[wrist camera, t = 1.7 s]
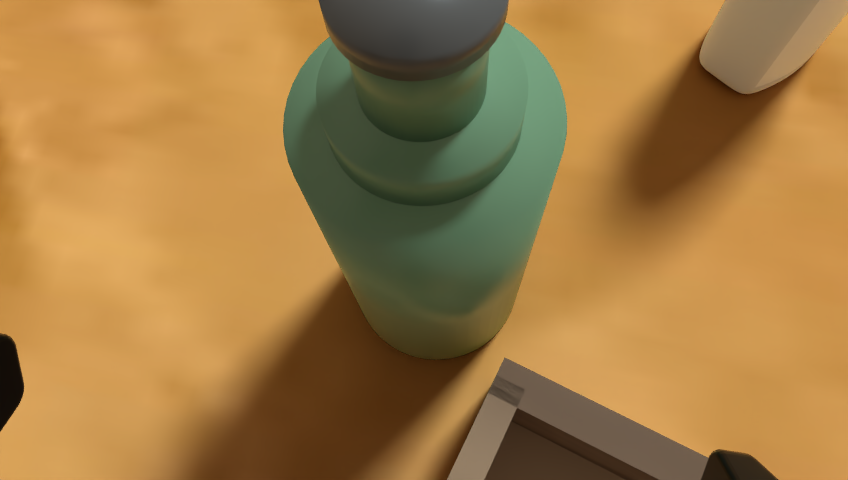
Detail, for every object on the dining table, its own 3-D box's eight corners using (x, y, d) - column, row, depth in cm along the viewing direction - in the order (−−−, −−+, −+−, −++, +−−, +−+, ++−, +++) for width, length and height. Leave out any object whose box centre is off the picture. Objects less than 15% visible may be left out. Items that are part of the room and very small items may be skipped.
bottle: (432, 395, 20) (398, 232, 8) (324, 277, 22) (144, -24, 9) (550, 282, 21) (693, -23, 9) (439, 177, 23) (424, -212, 10)
